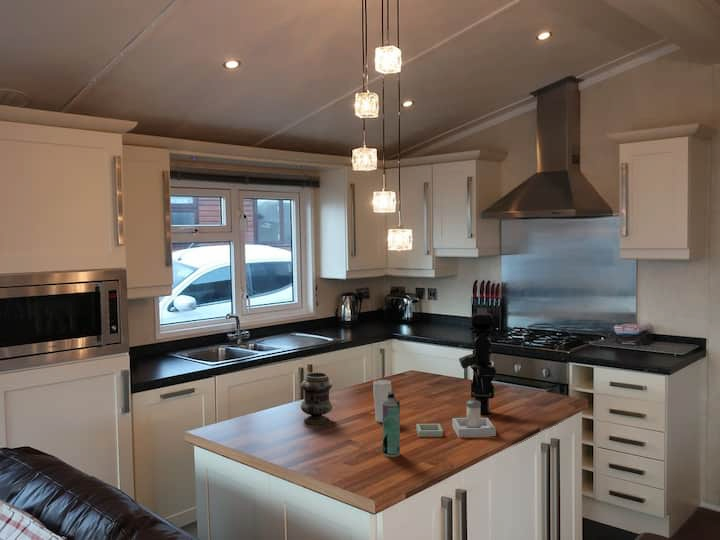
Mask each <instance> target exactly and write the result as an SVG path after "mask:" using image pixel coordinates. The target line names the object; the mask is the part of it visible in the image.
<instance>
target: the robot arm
mask: <svg viewBox="0 0 720 540" xmlns="http://www.w3.org/2000/svg"><path fill="white" fill-rule="evenodd" d="M470 317H471V322H470V323H471V326H470V327H471V334H472V335H474V349H473V350H472V353H470V354H467V355H465V356H461V357H460V358H458V361H459V364H460V366H461V368H462V369H463V370H464V369H468V368H471V370H473V372H474V375H473V377H472V382H470V386H471V387H470V398H471V399H472V398H473V400H478V401H480V402H481V407H480V415H492V411H491V410H490V399H494V398H495V386H494V385H493V382H492V381H493V380H494V378H495V377H496V375H497V369H496V368H495V367H494V366H493V365H492V361H491V355H492V351H491V348H492V347H491V346H492V344H491V343H492V342H491V335H494V332H495V331H496V330H495V328H496V327H495V326H496V325H495V323H496V322H495V320H494V317H493V314H492V313H491V312H490V311H489V307H487V306H477V307H476V306H475V310H474V311H473V312H472V313H471V316H470Z"/></svg>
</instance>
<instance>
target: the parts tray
mask: <svg viewBox="0 0 720 540" xmlns="http://www.w3.org/2000/svg"><path fill="white" fill-rule="evenodd" d="M466 425H467V417H453V418H452V428H453V430H454V432H455V434H456V435H457V436H456V437H458V438H460V439H461V438H463V439H464V438H468V437H469V438H491V437H490V436H496V437H497V428H496V427H495V426H494V424H493V423H492V421H491V420H490V419H489V418H488V417H480V425H481V428H466ZM488 436H489V437H488Z"/></svg>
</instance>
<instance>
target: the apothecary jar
mask: <svg viewBox="0 0 720 540" xmlns="http://www.w3.org/2000/svg"><path fill="white" fill-rule="evenodd" d="M300 386H301V389H302V390H304V391H303V392H304V394H303V395H304V396H303V401H302V402H301V404H300V409H301V410H302V412H303V413H305V414H307V415H309V416H307V417H305V418H304V419H303V423H305V424H308V425H315V426H316V425H324V424H325V425H326V424H328V423H329V422H330V421H331V420H330V418H329V417H327V416H325V415H326V414H328V413H330V412H331V411H332V409H333V403H332V402H331V401H330V390H331V389H332V387H333V382H332V380H330V379H329V375H328V373H326V372H321V371H314V372H308V373H306V374H305V378H304V380H302V382H301V383H300Z"/></svg>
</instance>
